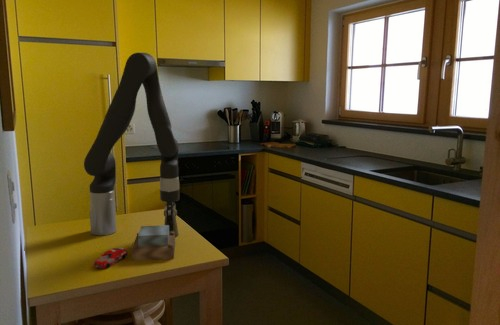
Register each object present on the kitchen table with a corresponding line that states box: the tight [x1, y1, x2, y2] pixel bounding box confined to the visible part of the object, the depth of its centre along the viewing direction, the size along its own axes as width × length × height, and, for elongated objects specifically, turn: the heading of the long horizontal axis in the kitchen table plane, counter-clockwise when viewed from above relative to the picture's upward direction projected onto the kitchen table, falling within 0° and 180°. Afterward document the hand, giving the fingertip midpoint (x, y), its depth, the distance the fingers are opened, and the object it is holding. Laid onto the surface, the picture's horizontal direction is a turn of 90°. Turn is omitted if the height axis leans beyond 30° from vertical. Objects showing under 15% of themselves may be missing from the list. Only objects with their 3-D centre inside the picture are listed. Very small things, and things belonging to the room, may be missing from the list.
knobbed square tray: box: [131, 224, 176, 261], centre depth 149 cm, size 14×14×8 cm
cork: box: [163, 208, 179, 238], centre depth 165 cm, size 6×6×11 cm
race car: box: [93, 247, 129, 270], centre depth 140 cm, size 13×5×4 cm, turn 155°
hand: (170, 229), depth 166 cm, fingers closed on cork, 3 cm apart
